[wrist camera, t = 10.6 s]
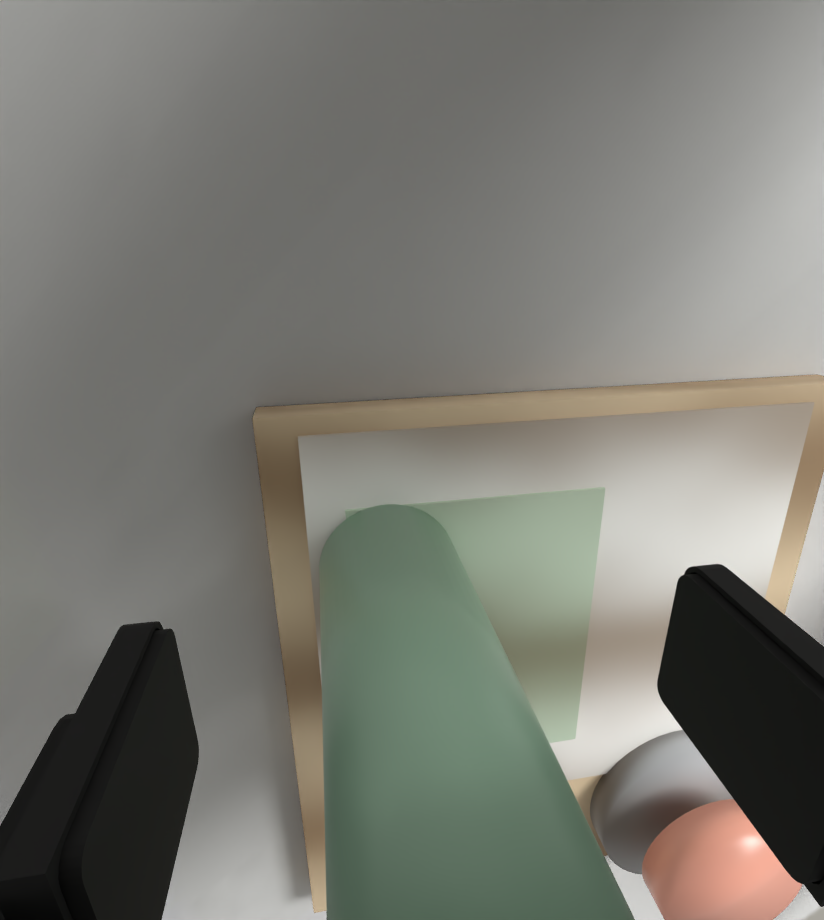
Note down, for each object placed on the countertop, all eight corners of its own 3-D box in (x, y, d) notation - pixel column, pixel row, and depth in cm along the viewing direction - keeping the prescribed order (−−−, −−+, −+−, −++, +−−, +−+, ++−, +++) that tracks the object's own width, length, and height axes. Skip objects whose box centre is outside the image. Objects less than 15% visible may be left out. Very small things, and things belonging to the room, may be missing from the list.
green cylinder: (309, 507, 14) (299, 1319, 3) (458, 494, 14) (856, 1148, 4) (320, 633, 15) (340, 1491, 5) (456, 617, 15) (747, 1345, 5)
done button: (652, 813, 17) (680, 859, 16) (784, 788, 18) (821, 831, 16) (633, 909, 19) (657, 957, 17) (754, 882, 19) (786, 928, 18)
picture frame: (256, 407, 14) (247, 431, 12) (817, 374, 16) (882, 390, 14) (313, 882, 20) (314, 946, 18) (708, 808, 23) (743, 857, 21)
